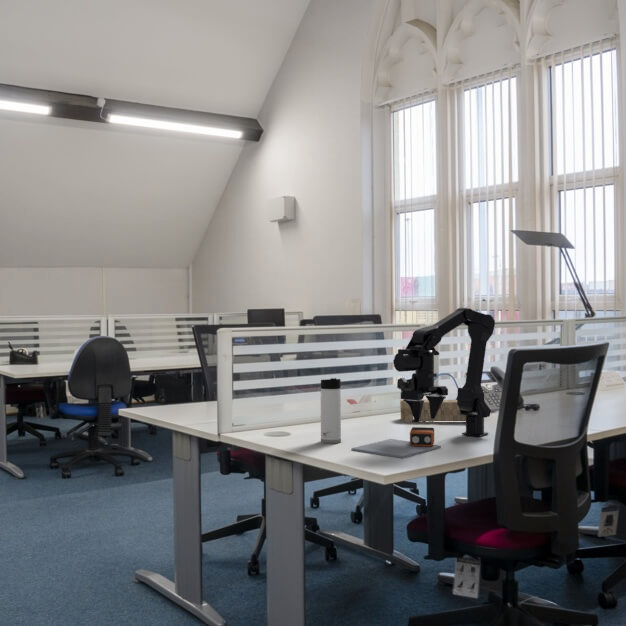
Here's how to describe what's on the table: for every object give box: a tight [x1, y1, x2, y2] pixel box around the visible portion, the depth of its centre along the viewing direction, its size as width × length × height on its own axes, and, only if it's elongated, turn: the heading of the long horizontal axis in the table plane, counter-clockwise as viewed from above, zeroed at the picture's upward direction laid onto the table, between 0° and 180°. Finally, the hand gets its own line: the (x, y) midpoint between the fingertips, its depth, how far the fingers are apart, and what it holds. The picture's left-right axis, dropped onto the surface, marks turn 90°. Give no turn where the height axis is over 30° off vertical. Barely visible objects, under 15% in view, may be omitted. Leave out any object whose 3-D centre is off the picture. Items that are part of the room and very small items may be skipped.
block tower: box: [399, 398, 466, 423], centre depth 269 cm, size 8×8×29 cm
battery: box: [409, 426, 435, 447], centre depth 219 cm, size 4×7×10 cm
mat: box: [351, 438, 442, 459], centre depth 215 cm, size 20×18×1 cm
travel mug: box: [320, 377, 342, 445], centre depth 227 cm, size 6×7×20 cm
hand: (424, 420), depth 227 cm, fingers open, 9 cm apart
